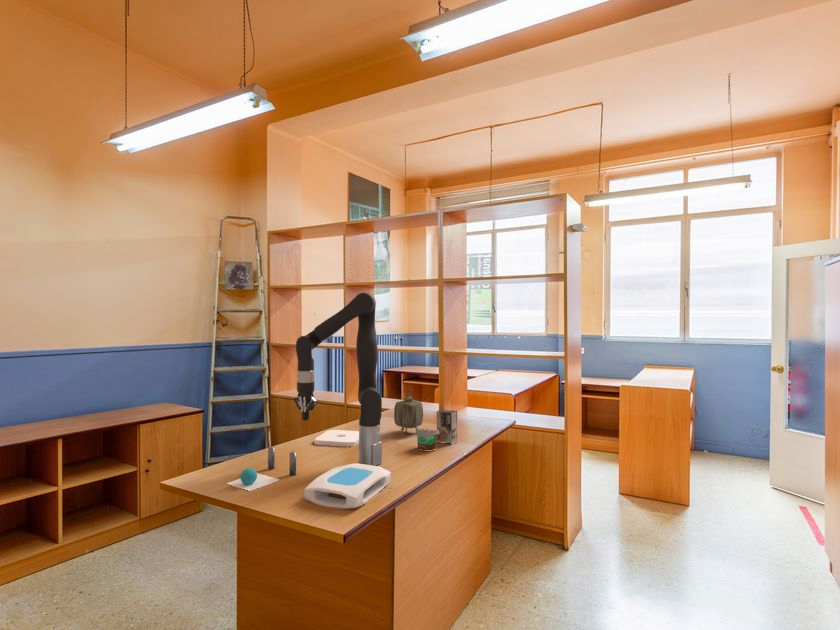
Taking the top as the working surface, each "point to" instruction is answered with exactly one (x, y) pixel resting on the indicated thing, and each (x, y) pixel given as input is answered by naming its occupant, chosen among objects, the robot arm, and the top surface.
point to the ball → (248, 476)
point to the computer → (338, 438)
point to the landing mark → (259, 482)
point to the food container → (427, 438)
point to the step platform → (347, 485)
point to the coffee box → (447, 425)
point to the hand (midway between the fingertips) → (305, 420)
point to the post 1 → (271, 457)
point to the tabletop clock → (408, 412)
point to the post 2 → (292, 464)
